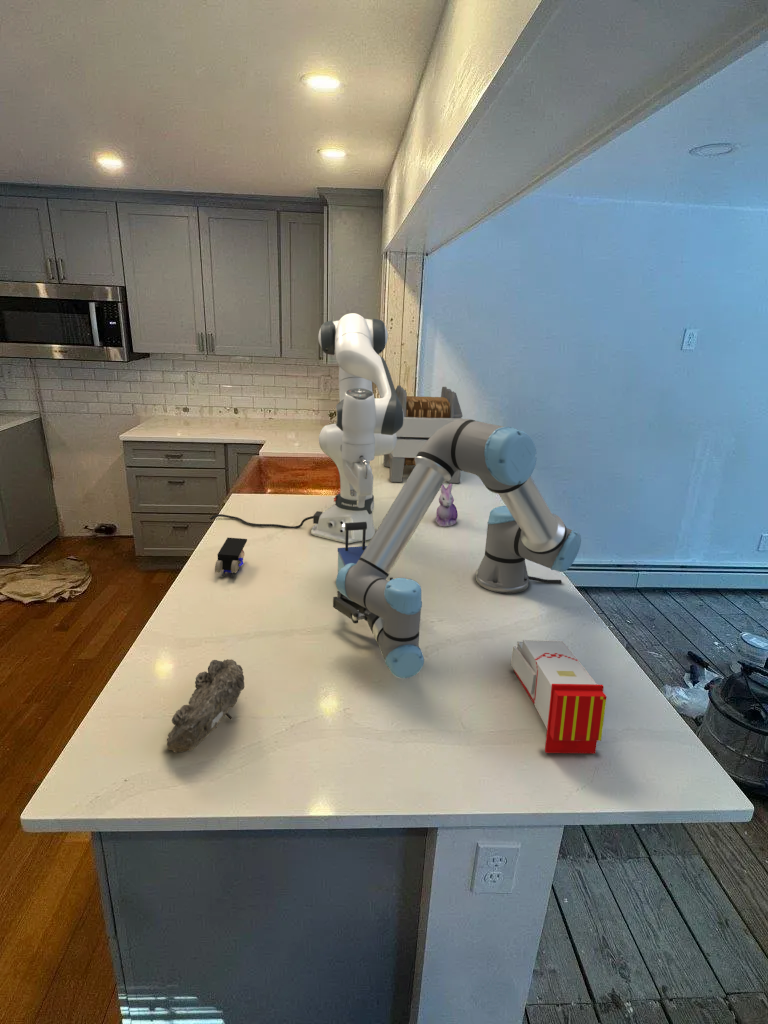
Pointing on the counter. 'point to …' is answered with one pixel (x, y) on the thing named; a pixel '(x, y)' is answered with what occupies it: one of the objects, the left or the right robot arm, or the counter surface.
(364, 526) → the lid
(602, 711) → the toy
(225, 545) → the figurine character
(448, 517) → the figurine
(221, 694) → the fossil
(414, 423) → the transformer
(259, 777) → the counter surface
